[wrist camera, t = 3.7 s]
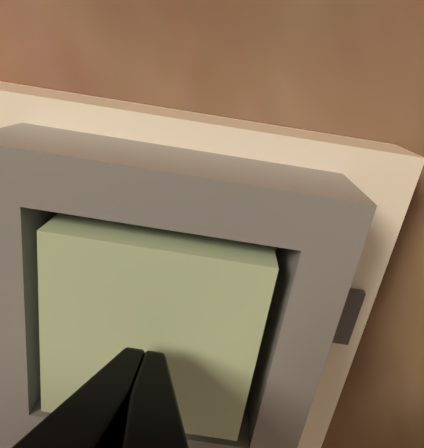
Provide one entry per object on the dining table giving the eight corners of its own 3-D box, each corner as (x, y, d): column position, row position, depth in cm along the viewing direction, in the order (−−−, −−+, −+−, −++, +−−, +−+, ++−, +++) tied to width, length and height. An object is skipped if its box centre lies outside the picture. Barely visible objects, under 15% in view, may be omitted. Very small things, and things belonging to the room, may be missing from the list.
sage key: (78, 345, 12) (41, 411, 10) (81, 194, 10) (36, 230, 8) (235, 369, 12) (236, 440, 10) (268, 224, 10) (278, 268, 8)
